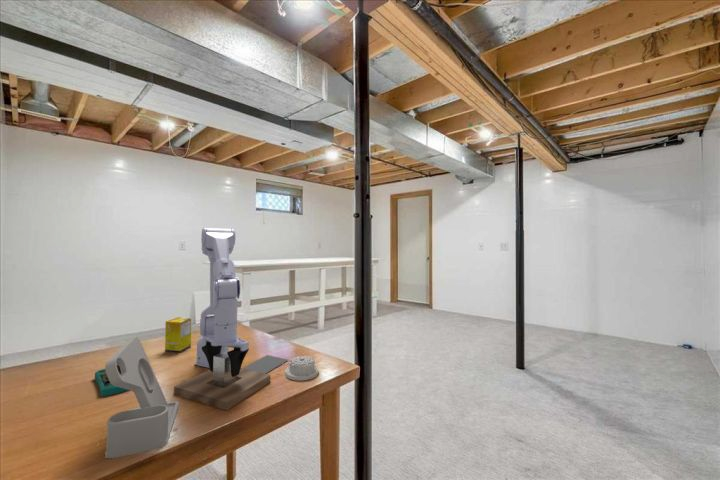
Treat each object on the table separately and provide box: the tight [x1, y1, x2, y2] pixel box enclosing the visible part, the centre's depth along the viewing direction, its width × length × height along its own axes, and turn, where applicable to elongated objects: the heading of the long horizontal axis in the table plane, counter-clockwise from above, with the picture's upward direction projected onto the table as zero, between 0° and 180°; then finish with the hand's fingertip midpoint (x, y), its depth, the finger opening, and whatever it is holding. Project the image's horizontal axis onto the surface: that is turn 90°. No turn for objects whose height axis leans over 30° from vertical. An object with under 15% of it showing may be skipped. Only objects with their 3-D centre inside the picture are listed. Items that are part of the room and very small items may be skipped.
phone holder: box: [104, 337, 180, 460], centre depth 65 cm, size 17×10×18 cm, turn 23°
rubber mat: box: [242, 354, 289, 374], centre depth 98 cm, size 9×14×1 cm, turn 157°
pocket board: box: [173, 367, 271, 411], centre depth 83 cm, size 18×16×2 cm
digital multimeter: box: [94, 368, 128, 397], centre depth 84 cm, size 7×15×3 cm, turn 47°
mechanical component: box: [284, 355, 319, 382], centre depth 93 cm, size 10×4×10 cm
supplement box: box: [164, 316, 192, 354], centre depth 110 cm, size 6×6×11 cm
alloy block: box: [213, 351, 236, 388], centre depth 83 cm, size 4×4×9 cm
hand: (224, 372), depth 83 cm, fingers open, 7 cm apart
